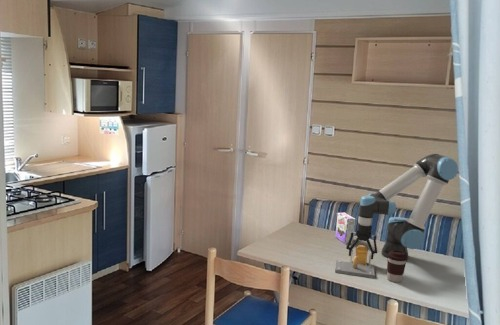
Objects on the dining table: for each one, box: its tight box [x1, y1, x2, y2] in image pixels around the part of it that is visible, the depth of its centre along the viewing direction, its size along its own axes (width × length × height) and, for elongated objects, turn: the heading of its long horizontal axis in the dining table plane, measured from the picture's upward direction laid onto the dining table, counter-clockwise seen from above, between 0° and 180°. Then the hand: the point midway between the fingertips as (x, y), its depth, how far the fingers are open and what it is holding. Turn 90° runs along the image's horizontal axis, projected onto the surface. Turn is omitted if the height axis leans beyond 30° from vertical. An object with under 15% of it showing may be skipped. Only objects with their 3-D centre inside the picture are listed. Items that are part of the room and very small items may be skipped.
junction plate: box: [334, 256, 376, 279], centre depth 258 cm, size 20×14×8 cm
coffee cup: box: [386, 250, 409, 283], centre depth 248 cm, size 10×10×15 cm
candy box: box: [334, 212, 356, 245], centre depth 307 cm, size 14×6×16 cm, turn 17°
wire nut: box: [355, 244, 369, 265], centre depth 269 cm, size 6×6×10 cm
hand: (360, 263), depth 269 cm, fingers open, 9 cm apart
